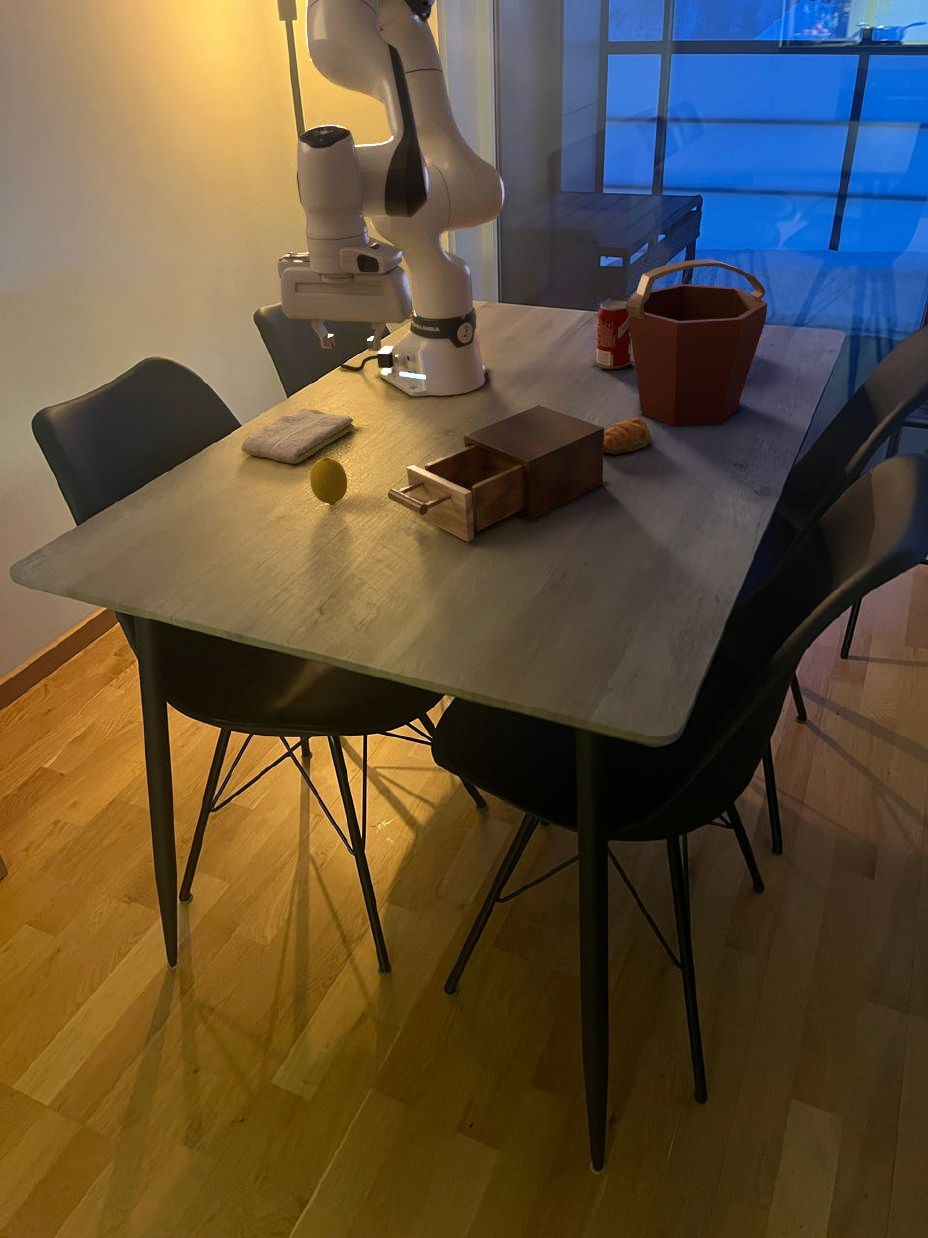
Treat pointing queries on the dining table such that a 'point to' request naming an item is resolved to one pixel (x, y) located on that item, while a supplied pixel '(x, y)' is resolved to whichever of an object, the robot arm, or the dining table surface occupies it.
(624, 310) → the soda can
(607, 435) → the pastry
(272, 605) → the dining table surface
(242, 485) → the dining table surface
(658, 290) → the bucket
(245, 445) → the washcloth
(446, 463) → the drawer
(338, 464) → the lemon
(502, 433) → the cabinet
